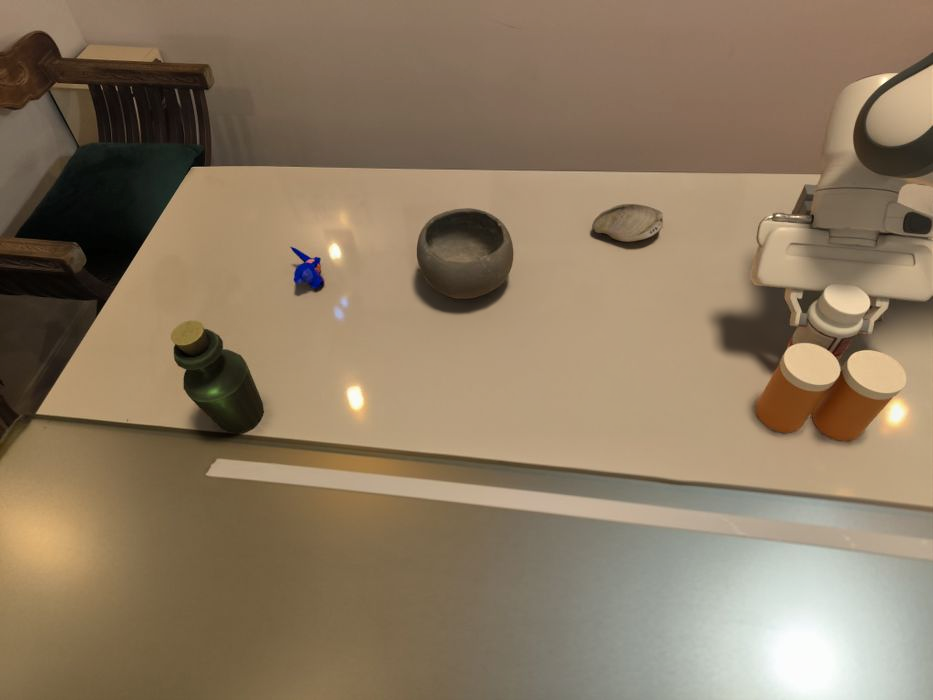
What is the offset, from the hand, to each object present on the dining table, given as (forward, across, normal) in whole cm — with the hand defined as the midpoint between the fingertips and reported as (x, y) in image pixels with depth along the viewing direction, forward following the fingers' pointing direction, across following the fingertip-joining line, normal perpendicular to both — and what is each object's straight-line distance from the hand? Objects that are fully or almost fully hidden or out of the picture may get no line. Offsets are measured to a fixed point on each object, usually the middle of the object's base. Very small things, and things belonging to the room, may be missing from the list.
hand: (830, 330), depth 76 cm
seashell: (-11, -25, +25) cm, 37 cm away
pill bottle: (+4, 0, +5) cm, 6 cm away
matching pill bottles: (+12, 0, +2) cm, 12 cm away
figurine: (+2, -76, +13) cm, 77 cm away
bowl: (-1, -49, +15) cm, 52 cm away
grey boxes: (-12, +5, +26) cm, 29 cm away
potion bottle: (+21, -76, -6) cm, 79 cm away
